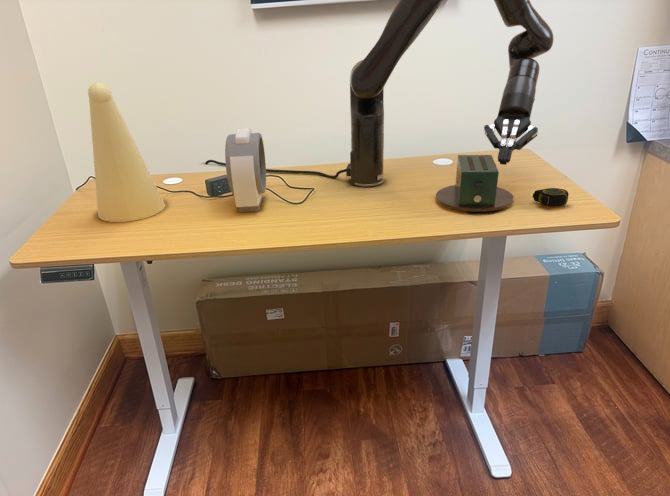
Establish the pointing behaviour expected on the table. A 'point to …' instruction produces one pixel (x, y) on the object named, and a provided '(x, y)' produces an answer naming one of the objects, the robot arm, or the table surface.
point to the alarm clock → (246, 168)
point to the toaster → (475, 186)
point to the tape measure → (551, 197)
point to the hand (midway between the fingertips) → (503, 162)
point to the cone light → (118, 164)
